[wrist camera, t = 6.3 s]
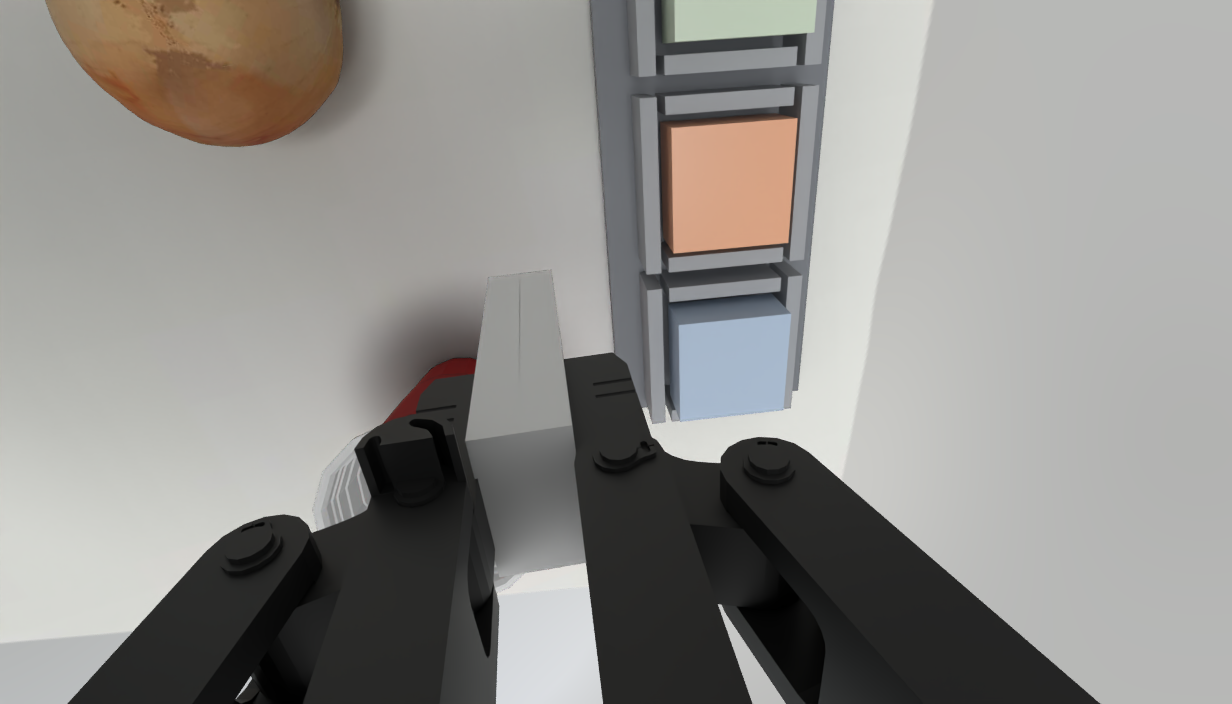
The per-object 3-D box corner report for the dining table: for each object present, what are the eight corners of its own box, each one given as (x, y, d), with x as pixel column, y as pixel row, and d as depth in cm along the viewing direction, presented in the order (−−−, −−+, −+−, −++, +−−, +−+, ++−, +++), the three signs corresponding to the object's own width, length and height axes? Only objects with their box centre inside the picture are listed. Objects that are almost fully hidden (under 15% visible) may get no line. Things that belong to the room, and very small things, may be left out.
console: (557, -464, 22) (559, -567, 18) (866, -466, 23) (926, -565, 19) (618, 402, 39) (625, 436, 35) (792, 382, 40) (816, 414, 36)
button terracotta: (660, 122, 30) (671, 128, 27) (775, 112, 30) (797, 118, 27) (663, 237, 32) (673, 253, 30) (768, 227, 33) (788, 242, 30)
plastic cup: (563, 328, 36) (571, 440, 26) (539, 468, 41) (536, 613, 30) (380, 303, 34) (305, 413, 24) (376, 453, 39) (311, 602, 28)
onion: (89, -41, 26) (-151, -94, 17) (281, -150, 25) (135, -267, 16) (241, 165, 30) (113, 210, 21) (409, 79, 29) (350, 88, 20)
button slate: (668, 303, 33) (679, 325, 30) (771, 293, 33) (791, 313, 31) (670, 394, 36) (680, 421, 33) (765, 384, 36) (783, 409, 33)
